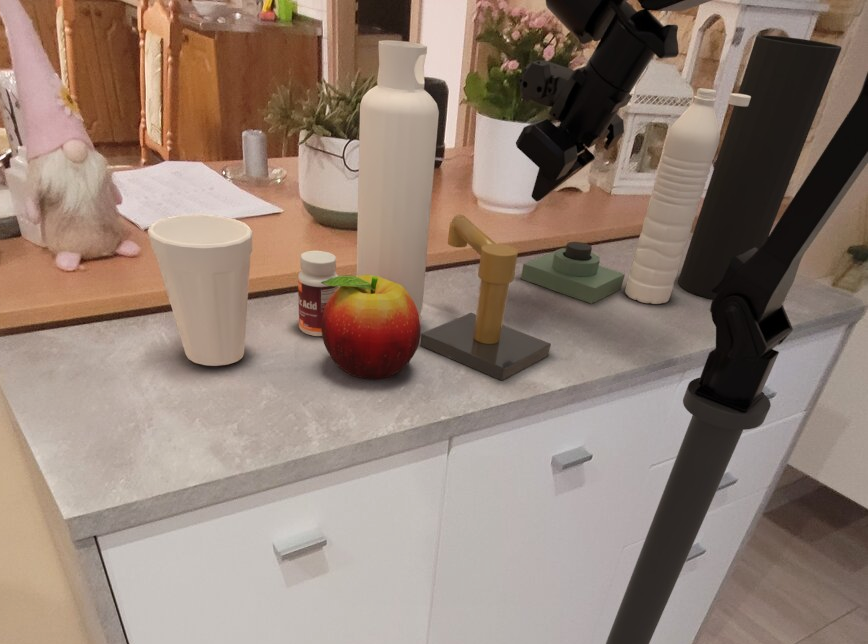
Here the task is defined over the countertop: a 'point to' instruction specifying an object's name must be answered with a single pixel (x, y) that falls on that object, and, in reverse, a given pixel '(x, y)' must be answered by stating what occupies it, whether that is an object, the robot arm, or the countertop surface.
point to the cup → (206, 282)
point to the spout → (484, 251)
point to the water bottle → (676, 198)
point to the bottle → (396, 170)
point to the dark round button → (578, 251)
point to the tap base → (482, 353)
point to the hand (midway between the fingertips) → (535, 198)
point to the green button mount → (573, 276)
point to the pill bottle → (314, 289)
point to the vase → (757, 154)
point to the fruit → (370, 326)
